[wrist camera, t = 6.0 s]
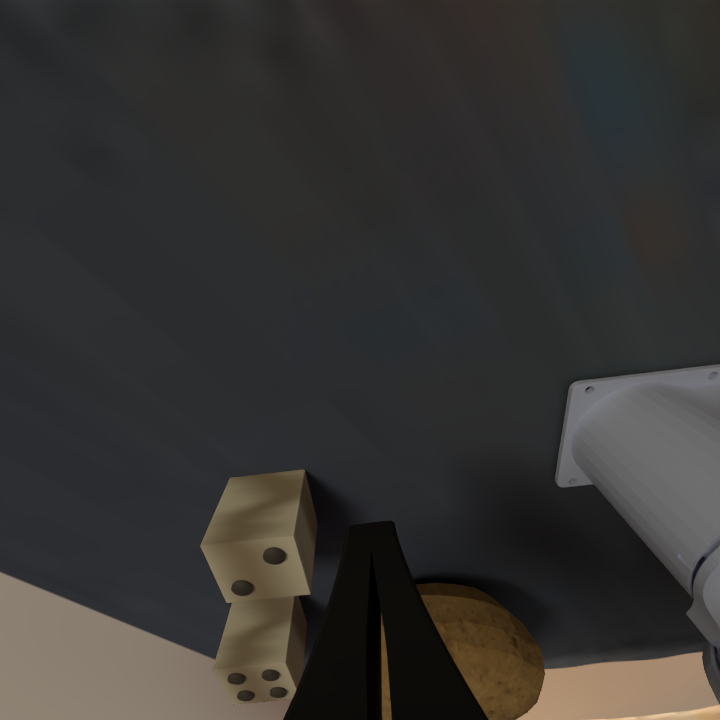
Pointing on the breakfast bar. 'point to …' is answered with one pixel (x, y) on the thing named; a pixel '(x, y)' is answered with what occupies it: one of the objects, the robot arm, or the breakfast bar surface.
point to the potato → (481, 650)
